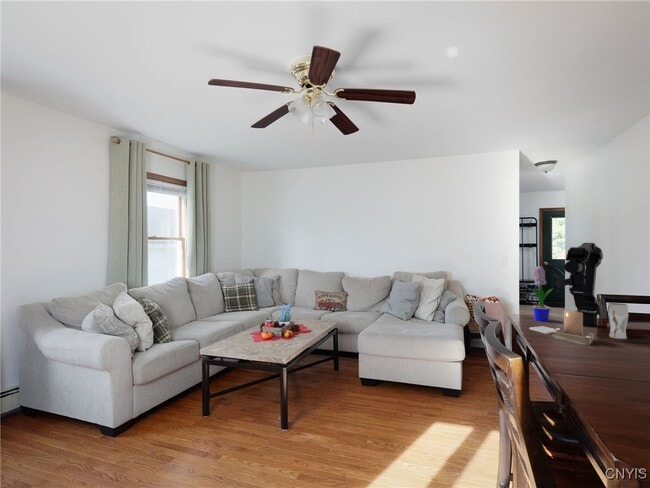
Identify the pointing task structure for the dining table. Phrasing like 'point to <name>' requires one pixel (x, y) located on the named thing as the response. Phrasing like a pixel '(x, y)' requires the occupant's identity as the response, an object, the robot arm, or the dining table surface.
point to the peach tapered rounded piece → (573, 323)
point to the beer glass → (618, 320)
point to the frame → (572, 337)
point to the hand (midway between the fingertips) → (577, 306)
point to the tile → (542, 329)
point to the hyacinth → (540, 296)
